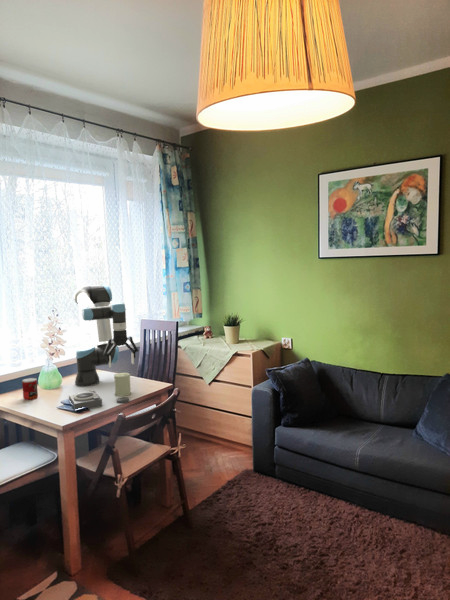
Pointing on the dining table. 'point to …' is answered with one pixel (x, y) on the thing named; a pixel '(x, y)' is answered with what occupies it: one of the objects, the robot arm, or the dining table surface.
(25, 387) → the canned food
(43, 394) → the dining table surface
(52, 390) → the dining table surface
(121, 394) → the can
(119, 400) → the lens cap
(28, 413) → the dining table surface
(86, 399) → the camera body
